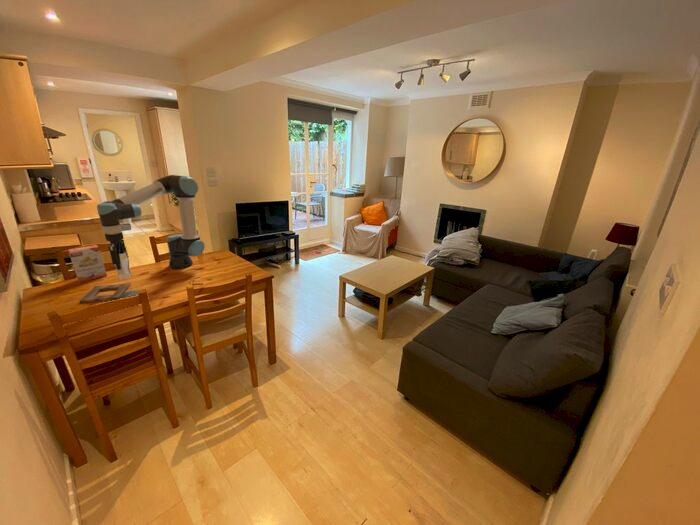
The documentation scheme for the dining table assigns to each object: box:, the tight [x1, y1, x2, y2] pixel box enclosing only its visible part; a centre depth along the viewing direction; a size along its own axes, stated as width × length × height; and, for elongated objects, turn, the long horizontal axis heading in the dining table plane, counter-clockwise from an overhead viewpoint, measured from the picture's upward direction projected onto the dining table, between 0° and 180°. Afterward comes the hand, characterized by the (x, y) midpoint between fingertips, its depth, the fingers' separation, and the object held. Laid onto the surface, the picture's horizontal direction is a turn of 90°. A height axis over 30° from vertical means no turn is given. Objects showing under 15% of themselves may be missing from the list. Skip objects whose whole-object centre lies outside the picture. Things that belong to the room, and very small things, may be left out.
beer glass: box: [113, 251, 133, 280], centre depth 159 cm, size 7×7×15 cm
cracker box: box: [67, 244, 108, 283], centre depth 182 cm, size 14×6×21 cm, turn 139°
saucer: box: [118, 289, 139, 300], centre depth 167 cm, size 12×12×1 cm
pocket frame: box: [79, 282, 131, 304], centre depth 168 cm, size 18×18×2 cm
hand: (124, 271), depth 161 cm, fingers closed on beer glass, 7 cm apart
